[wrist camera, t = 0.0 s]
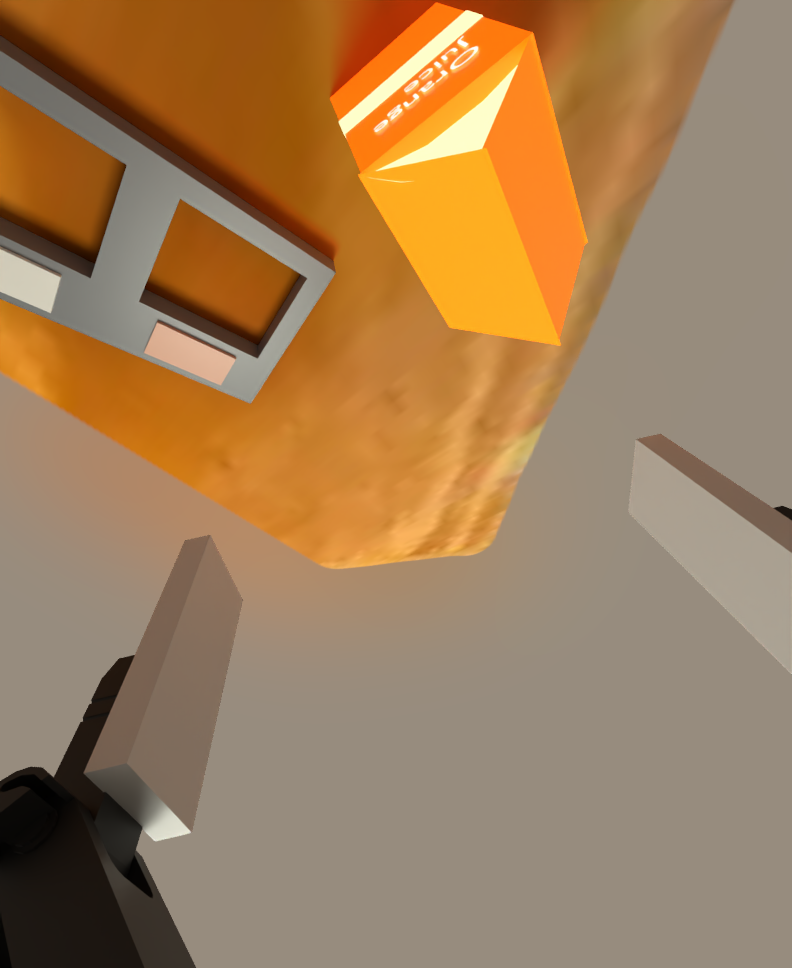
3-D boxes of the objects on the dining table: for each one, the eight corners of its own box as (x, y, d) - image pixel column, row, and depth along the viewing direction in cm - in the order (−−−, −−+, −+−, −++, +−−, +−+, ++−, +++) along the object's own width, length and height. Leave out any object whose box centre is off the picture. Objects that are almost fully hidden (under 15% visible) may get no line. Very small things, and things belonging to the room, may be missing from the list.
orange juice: (437, -2, 25) (610, 48, 13) (495, 156, 32) (650, 296, 19) (326, 99, 28) (376, 227, 15) (400, 227, 34) (480, 395, 21)
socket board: (-104, -35, 21) (-131, -34, 20) (333, 260, 35) (336, 274, 33) (-113, 230, 29) (-134, 246, 27) (251, 389, 42) (250, 405, 41)
